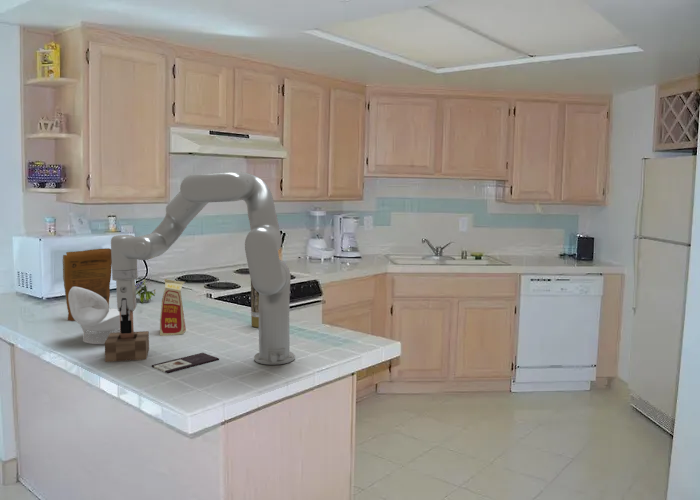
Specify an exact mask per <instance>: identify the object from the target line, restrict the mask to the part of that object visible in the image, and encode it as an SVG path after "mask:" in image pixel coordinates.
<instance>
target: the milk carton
mask: <svg viewBox="0 0 700 500" xmlns="http://www.w3.org/2000/svg"><path fill="white" fill-rule="evenodd" d="M185 283H186V281H179V280H172V279H168V278H164V291H163V295H162V298H161V305H160V306H161V308H160V316H159V317H160V318H159V336H160V337H164V336H166V337H167V336H176V335H178V336H179V335H184V334H185V333H186V331H187V327H186V321H185V314H184V308H183V307H184V306H183V300H182V299H183V298H182V293H181V292H182V287H183V285H184V284H185Z"/></svg>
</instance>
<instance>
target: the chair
mask: <svg viewBox="0 0 700 500" xmlns="http://www.w3.org/2000/svg"><path fill="white" fill-rule="evenodd" d="M77 291H78V292H79V291H80V292H79V293H78V292H77ZM84 292H85V293H84ZM86 292H87V293H86ZM81 293H82V294H81ZM79 294H81V295H79ZM83 294H85V295H83ZM93 295H94V296H93ZM82 296H83V297H82ZM95 296H96V297H95ZM84 297H85V298H84ZM88 297H90V298H88ZM78 298H79V299H78ZM82 298H83V299H86V298H87V299H86V301H85V300H83V299H82ZM90 299H91V300H90ZM92 299H93V300H94V299H95V300H96V301H97V302H96V301H95V300H94V301H93V300H92ZM68 300H69V307H70V311H71V314H72V316H73V318H74V320H75V321H74V322H76V323H77V324H79V325H80V327H81V329H82V332H83V337H82V341H83V342H84V343H87V344H90V345H105V341H106V339H107V338H108V336H109V334H110V333H120V313H119V311H118V308H110V304H109V305H108V303H107V301H106V300H105V299H104V298H103V297H102V296H100V295H99V294H97V293H95V292H93V291H90V290H87V289H84V288H80V287H72V288H71V289H70V291H69V294H68ZM89 300H90V301H89ZM100 300H101V302H100ZM84 301H85V302H84ZM98 301H99V302H98ZM81 302H82V303H81ZM103 302H104V303H103ZM92 303H93V305H92ZM97 303H98V304H99V306H96V305H97ZM94 304H95V305H94ZM89 305H90V307H89ZM86 306H87V307H86ZM91 306H95V308H96V307H97V308H96V309H95V308H94V307H93V308H92V307H91ZM101 306H102V307H101ZM104 306H105V307H104ZM83 307H85V308H83ZM78 310H79V311H78ZM85 311H86V312H85Z"/></svg>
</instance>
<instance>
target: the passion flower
mask: <svg viewBox="0 0 700 500" xmlns="http://www.w3.org/2000/svg"><path fill="white" fill-rule="evenodd" d="M146 281H147V280H146V278H145V279H143V280H142V281H139V282H138V283H137V284H135V288H136V296H137V295H138V296H139V300H140V302H141V304H144V302H148V301H151V298H152V296H153V297H155V295H156V289H153V290H151V291H148V289H147V286H146Z"/></svg>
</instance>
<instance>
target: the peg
mask: <svg viewBox="0 0 700 500" xmlns="http://www.w3.org/2000/svg"><path fill="white" fill-rule="evenodd" d="M120 308H121V307H120ZM126 311H129V309H126ZM119 313H120V321H121V311H120V312H119ZM127 314H128V313H127ZM130 320H131V326H132V332H131V333H124V334H122V333H121V326H120V331H119V332H120V338H121V339H134V332H135V331H134V311H132V310H130Z"/></svg>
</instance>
